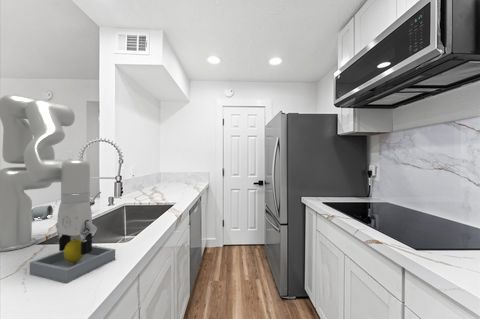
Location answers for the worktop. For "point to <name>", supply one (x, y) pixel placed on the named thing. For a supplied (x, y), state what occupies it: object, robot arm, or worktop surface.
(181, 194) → the worktop surface
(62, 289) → the worktop surface
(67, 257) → the lemon
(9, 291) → the worktop surface
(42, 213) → the ceramic mug
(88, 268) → the tray
